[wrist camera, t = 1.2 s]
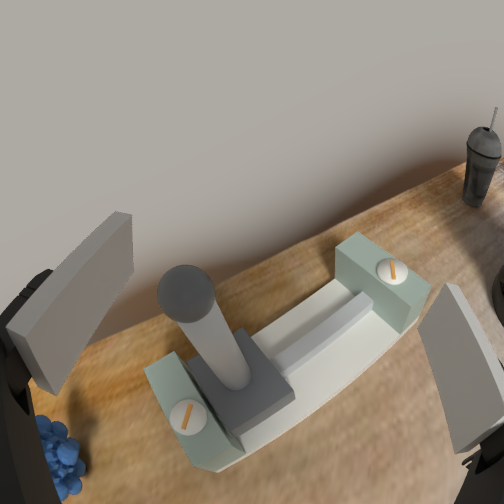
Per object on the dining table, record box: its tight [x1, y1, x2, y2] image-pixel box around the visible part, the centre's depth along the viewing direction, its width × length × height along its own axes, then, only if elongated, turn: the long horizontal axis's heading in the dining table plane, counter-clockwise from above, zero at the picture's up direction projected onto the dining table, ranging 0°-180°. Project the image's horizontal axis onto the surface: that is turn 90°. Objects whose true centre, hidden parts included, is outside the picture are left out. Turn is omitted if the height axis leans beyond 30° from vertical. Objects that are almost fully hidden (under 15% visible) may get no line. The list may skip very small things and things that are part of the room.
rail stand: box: [144, 232, 432, 473], centre depth 32 cm, size 30×12×8 cm, turn 123°
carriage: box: [157, 265, 296, 437], centre depth 24 cm, size 7×9×18 cm
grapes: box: [35, 415, 86, 501], centre depth 23 cm, size 12×7×12 cm, turn 25°
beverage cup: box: [462, 107, 501, 207], centre depth 41 cm, size 7×7×20 cm
